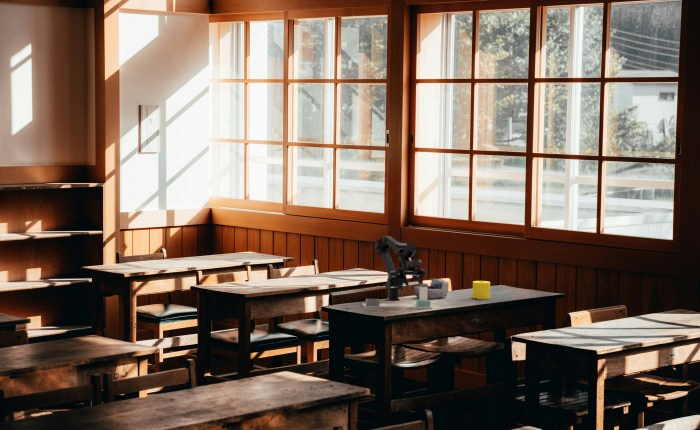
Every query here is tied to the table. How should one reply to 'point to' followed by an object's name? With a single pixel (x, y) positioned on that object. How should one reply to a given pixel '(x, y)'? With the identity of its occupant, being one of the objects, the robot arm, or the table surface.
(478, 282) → the yellow cube
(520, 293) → the table surface
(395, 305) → the panel
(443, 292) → the grey armchair
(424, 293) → the plug
